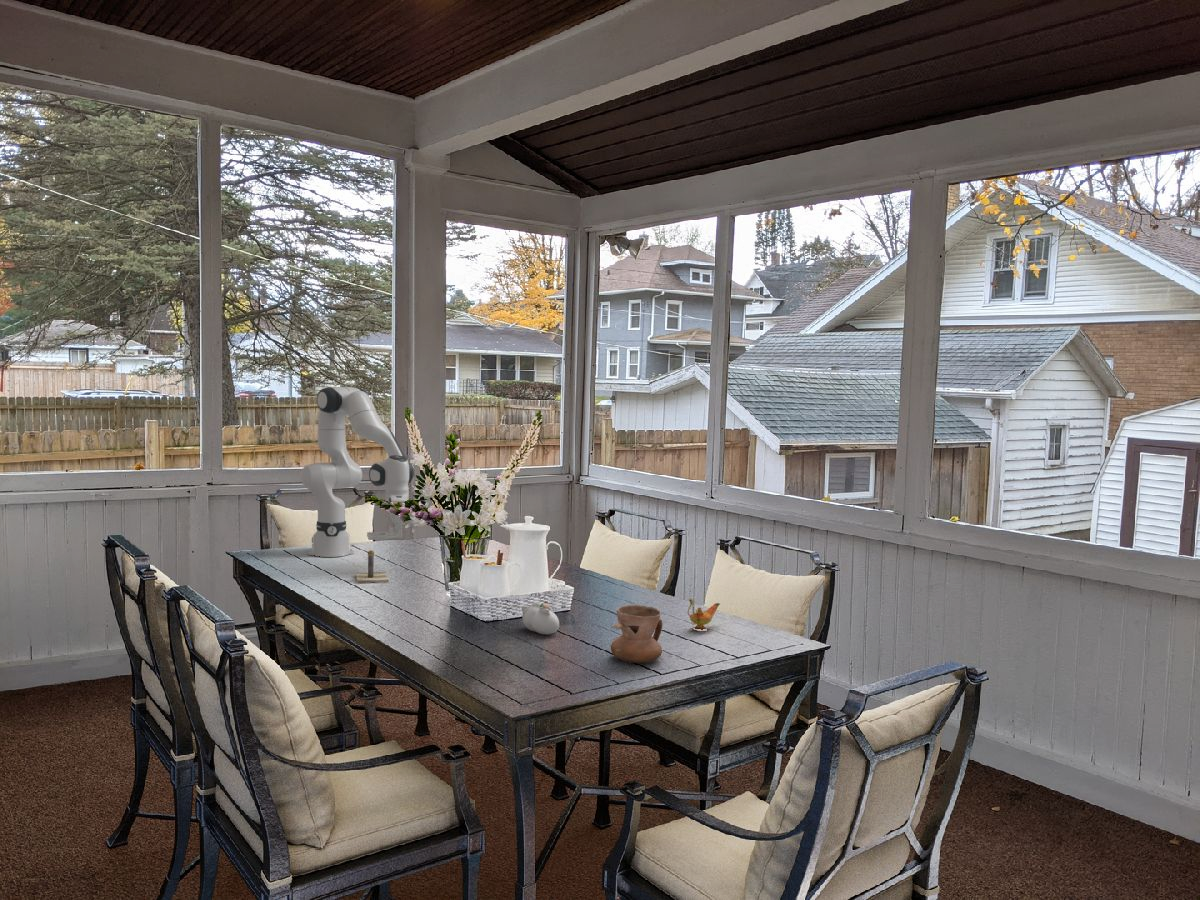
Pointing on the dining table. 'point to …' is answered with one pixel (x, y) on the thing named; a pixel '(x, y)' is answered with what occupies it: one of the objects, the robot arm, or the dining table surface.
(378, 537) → the link
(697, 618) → the magic lamp
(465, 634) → the dining table surface
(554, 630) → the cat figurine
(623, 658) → the ceramic jug
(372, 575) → the peg stand
